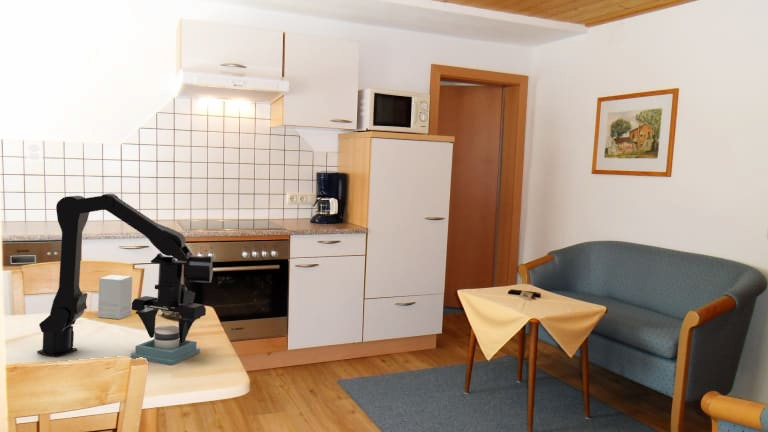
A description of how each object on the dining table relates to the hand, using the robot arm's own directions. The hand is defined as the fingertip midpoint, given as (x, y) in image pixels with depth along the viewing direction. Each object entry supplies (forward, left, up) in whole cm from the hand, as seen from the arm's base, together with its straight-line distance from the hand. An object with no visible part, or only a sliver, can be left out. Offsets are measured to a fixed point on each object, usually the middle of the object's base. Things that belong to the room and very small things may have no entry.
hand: (166, 340), depth 150 cm
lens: (0, 0, -3) cm, 3 cm away
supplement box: (+25, +38, -4) cm, 46 cm away
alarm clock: (+33, +22, -4) cm, 40 cm away
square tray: (0, 0, -4) cm, 4 cm away
